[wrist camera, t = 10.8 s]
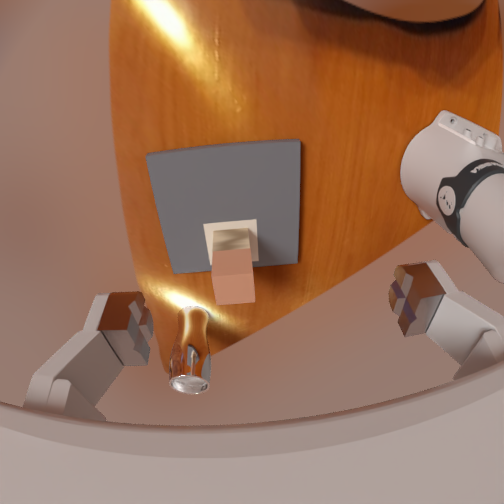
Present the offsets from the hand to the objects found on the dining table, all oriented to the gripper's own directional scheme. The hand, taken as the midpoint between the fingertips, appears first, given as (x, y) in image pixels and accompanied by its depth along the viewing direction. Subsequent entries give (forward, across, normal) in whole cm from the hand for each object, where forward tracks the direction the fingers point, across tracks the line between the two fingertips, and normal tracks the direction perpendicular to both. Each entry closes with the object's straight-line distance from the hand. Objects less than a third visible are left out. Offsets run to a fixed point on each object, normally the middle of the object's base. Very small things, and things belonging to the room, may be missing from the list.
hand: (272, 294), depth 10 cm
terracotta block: (+26, +3, +20) cm, 33 cm away
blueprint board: (+33, +3, +15) cm, 36 cm away
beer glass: (+33, +12, +37) cm, 51 cm away
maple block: (+31, +3, +20) cm, 38 cm away
